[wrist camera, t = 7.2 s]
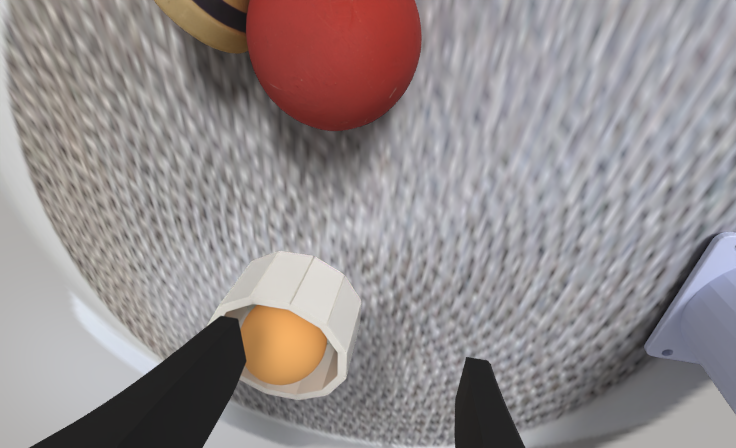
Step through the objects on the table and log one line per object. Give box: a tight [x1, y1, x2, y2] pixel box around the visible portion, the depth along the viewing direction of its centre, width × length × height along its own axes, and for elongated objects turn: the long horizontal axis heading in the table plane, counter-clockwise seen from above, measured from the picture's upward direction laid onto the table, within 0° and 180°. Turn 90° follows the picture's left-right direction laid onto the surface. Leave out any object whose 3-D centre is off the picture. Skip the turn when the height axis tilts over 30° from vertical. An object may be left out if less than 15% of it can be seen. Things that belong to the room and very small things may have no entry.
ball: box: [241, 305, 327, 385], centre depth 22 cm, size 5×5×5 cm
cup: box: [206, 251, 361, 400], centre depth 22 cm, size 8×8×4 cm
